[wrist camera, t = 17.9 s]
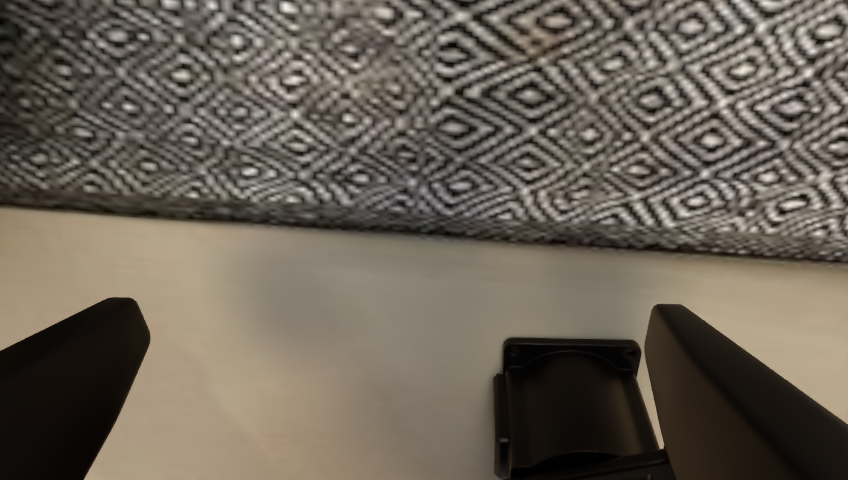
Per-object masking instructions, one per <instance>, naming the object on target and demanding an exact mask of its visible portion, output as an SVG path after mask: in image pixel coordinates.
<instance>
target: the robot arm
mask: <svg viewBox="0 0 848 480" xmlns="http://www.w3.org/2000/svg"><path fill="white" fill-rule="evenodd" d="M149 344H150V331H149V329H148V326H147V324H146V322H145V320H144V317H143V315H142V313H141V310H140V308H139V306H138V304H137V302H136V301H135V300H134V299H132V298H120V297H113V298H107V299H105V300H103V301H101V302H99V303H97V304H95V305H93V306H91V307H89V308H87V309H85V310H83V311H81V312H79V313H77V314H74V315H72V316H70V317H68V318H66V319H64V320H62V321H60V322H58V323H56V324H54V325H52V326H50V327H48V328H46V329H44V330H42V331H40V332H38V333H36V334H34V335H32V336H30V337H28V338H26V339H24V340H22V341H20V342H17V343H15V344H13V345H11V346H9V347H7V348H5V349H3V350H1V351H0V480H84V478H85V477H86V475H87V473H88V471H89V469H90V468H91V466H92V464H93V462H94V460H95V459H96V457H97V455H98V453H99V451H100V450H101V448H102V446H103V444H104V442H105V441H106V439H107V437H108V435H109V433H110V432H111V430H112V428H113V426H114V424H115V422H116V420H117V418H118V416H119V414H120V411H121V409H122V407H123V405H124V403H125V400H126V398H127V396H128V393H129V391H130V389H131V386H132V384H133V382H134V379H135V377H136V375H137V373H138V370H139V368H140V366H141V363H142V361H143V359H144V356H145V354H146V352H147V349H148V347H149ZM512 347H516V349H510V348H512ZM644 349H645V358H646V363H647V368H648V372H649V377H650V382H651V387H652V391H653V396H654V401H655V406H656V410H657V415H658V420H659V424H660V429H661V433H662V437H663V442H664V445H665V446H664V449H660V448H659V445H658V442H657V439H656V436H655V433H654V430H653V427H652V424H651V421H650V418H649V415H648V412H647V409H646V406H645V403H644V400H643V397H642V394H641V391H640V388H639V385H638V382H637V379H636V377H637V373H638V368H639V363H640V358H641V349H640V346H639V344H638V343H637V342H635V341H633V340H602V339H550V338H509V339H507V340H506V341H505V342H504V344H503V369H502V374H499V373H497V374H496V375H495V376H494V377H493V432H494V474H495V475H496V476H497V477H498V478H501V479H503V480H848V424H846V423H845V422H844V421H842V420H841V419H839V418H838V417H837V416H835V415H834V414H832V413H831V412H830V411H828V410H827V409H826V408H824V407H823V406H821V405H820V404H819V403H817V402H816V401H814V400H813V399H812V398H810V397H809V396H808V395H806V394H805V393H803V392H802V391H801V390H799V389H798V388H797V387H795V386H794V385H792V384H791V383H790V382H788V381H787V380H785V379H784V378H783V377H781V376H780V375H779V374H777V373H776V372H774V371H773V370H772V369H770V368H769V367H767V366H766V365H765V364H763V363H762V362H761V361H759V360H758V359H756V358H755V357H754V356H752V355H751V354H749V353H748V352H747V351H745V350H744V349H743V348H741V347H740V346H738V345H737V344H736V343H734V342H733V341H731V340H730V339H729V338H727V337H726V336H725V335H723V334H722V333H720V332H719V331H718V330H716V329H715V328H714V327H712V326H711V325H709V324H708V323H707V322H705V321H704V320H702V319H701V318H700V317H698V316H697V315H696V314H694V313H693V312H691V311H690V310H689V309H687V308H686V307H684V306H682V305H679V304H657V305H655V306H654V307H653V309H652V311H651V316H650V320H649V325H648V330H647V334H646V339H645V346H644ZM628 350H632V351H630V352H626V351H628Z"/></svg>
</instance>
